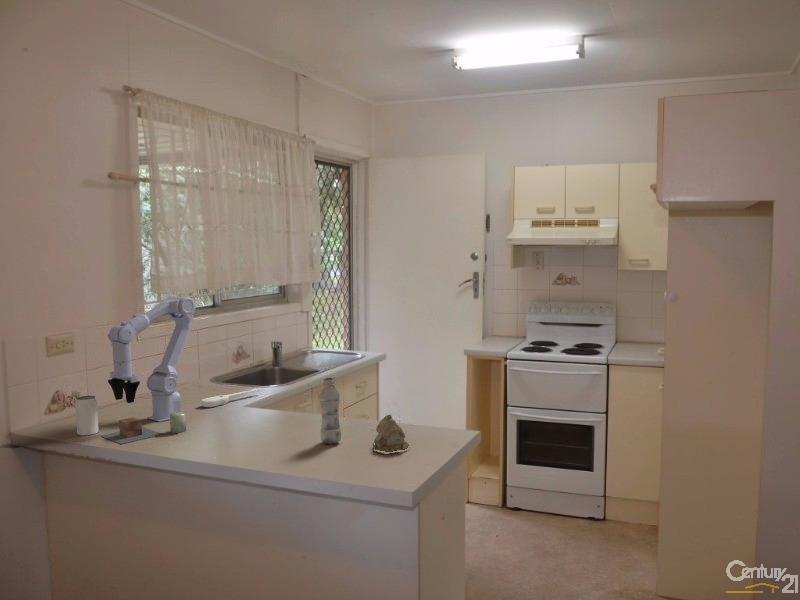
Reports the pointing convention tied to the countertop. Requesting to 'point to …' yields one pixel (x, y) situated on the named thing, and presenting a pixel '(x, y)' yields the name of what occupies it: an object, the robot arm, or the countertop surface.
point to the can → (86, 415)
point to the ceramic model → (390, 436)
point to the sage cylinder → (177, 422)
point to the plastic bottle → (330, 412)
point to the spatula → (221, 399)
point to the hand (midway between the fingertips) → (124, 400)
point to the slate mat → (122, 440)
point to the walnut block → (130, 427)
